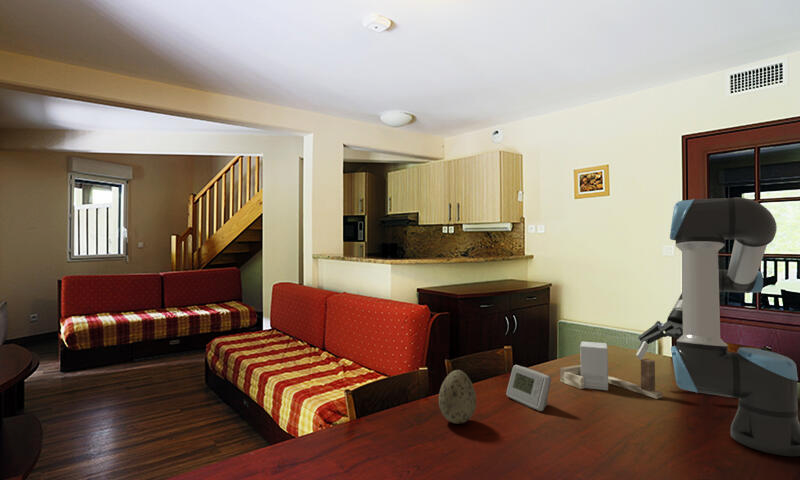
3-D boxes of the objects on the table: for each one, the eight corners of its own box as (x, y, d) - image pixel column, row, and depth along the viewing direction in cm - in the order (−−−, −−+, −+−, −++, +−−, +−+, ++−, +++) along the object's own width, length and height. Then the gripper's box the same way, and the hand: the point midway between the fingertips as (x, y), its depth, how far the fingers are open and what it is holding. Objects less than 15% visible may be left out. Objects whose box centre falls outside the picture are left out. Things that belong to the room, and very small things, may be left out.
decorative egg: (482, 420, 127) (482, 368, 127) (466, 433, 118) (466, 378, 118) (449, 412, 133) (449, 363, 133) (431, 424, 124) (431, 371, 124)
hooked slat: (662, 397, 144) (662, 362, 144) (627, 406, 137) (627, 369, 137) (592, 375, 169) (592, 345, 169) (559, 381, 161) (559, 350, 161)
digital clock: (503, 396, 147) (503, 364, 147) (527, 393, 149) (527, 362, 149) (531, 414, 131) (531, 379, 131) (556, 411, 134) (556, 376, 134)
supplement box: (608, 383, 159) (607, 342, 159) (608, 391, 151) (608, 348, 151) (581, 380, 163) (580, 340, 163) (580, 387, 155) (579, 345, 155)
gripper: (725, 328, 147) (699, 378, 140) (654, 317, 170) (629, 360, 163) (716, 313, 145) (689, 364, 138) (645, 304, 167) (619, 347, 161)
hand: (656, 362), depth 150 cm, fingers open, 13 cm apart
